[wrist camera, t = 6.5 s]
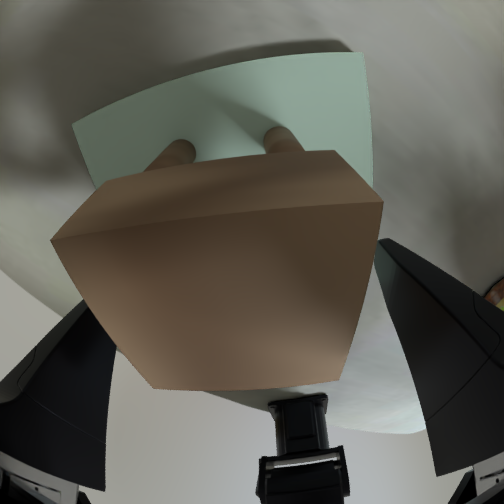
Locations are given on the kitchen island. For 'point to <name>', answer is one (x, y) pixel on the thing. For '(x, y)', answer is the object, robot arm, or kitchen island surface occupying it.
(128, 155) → the pad
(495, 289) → the sauce bottle
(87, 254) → the stool
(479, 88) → the kitchen island surface
